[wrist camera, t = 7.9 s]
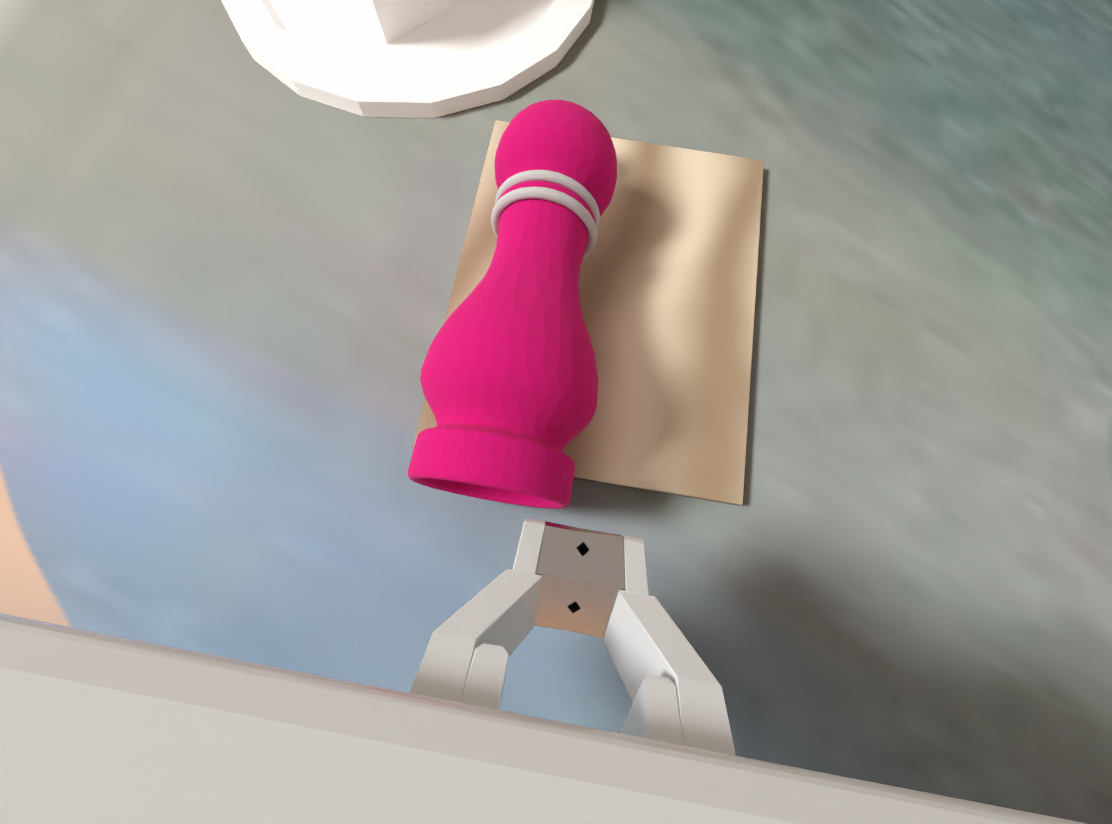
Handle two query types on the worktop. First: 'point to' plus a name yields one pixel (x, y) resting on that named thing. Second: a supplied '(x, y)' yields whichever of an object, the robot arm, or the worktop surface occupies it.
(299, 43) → the dish
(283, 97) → the worktop surface
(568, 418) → the pepper mill
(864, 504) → the worktop surface
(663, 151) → the wooden board
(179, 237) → the worktop surface
